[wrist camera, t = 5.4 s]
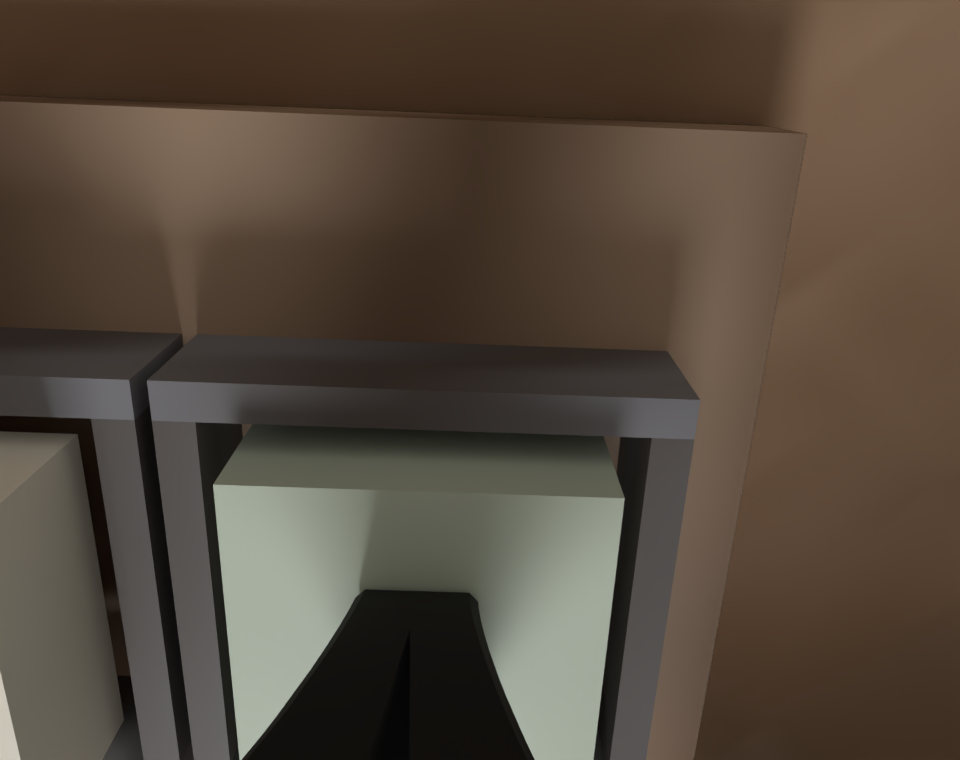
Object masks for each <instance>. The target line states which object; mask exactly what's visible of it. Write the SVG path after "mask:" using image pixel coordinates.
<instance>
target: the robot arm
mask: <svg viewBox="0 0 960 760" xmlns="http://www.w3.org/2000/svg"><path fill="white" fill-rule="evenodd" d="M242 760H535V759H534V757H533V755H532V753H531V751H530V749H529V747H528V745H527V743H526V740H525V738H524V736H523V734H522V731H521V729H520V727H519V724H518V722H517V720H516V718H515V715H514V713H513V711H512V708H511V706H510V704H509V701H508V699H507V697H506V695H505V692H504V689H503V687H502V684H501V682H500V679H499V677H498V674H497V671H496V668H495V665H494V662H493V660H492V657H491V654H490V651H489V648H488V644H487V641H486V638H485V634H484V631H483V627H482V622H481V618H480V613H479V605H478V601H477V600H476V599H475V598H474V597H473V596H472V595H471V594H470V593H465V592H433V591H401V590H369V589H365V590H364V591H363V592H361V593H360V594H359V595H358V596H356V597H355V599H354V601H353V603H352V605H351V607H350V609H349V610H348V612H347V614H346V615H345V617H344V619H343V620H342V622H341V624H340V626H339V627H338V629H337V630H336V632H335V634H334V635H333V637H332V638H331V640H330V641H329V643H328V644H327V646H326V647H325V649H324V650H323V652H322V653H321V655H320V656H319V658H318V659H317V661H316V662H315V664H314V665H313V667H312V668H311V670H310V671H309V673H308V674H307V675H306V677H305V678H304V679H303V681H302V682H301V683H300V685H299V686H298V688H297V689H296V690H295V692H294V693H293V694H292V696H291V697H290V698H289V700H288V701H287V703H286V704H285V705H284V707H283V708H282V709H281V711H280V712H279V714H278V715H277V716H276V718H275V719H274V720H273V721H272V723H271V724H270V725H269V727H268V728H267V729H266V731H265V732H264V733H263V734H262V735H261V737H260V738H259V739H258V740H257V742H256V743H255V744H254V745H253V746H252V748H251V749H250V750H249V751H248V752H247V754H246V755H245V756H244V757H243V758H242Z"/></svg>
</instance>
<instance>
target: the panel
mask: <svg viewBox="0 0 960 760" xmlns="http://www.w3.org/2000/svg"><path fill="white" fill-rule="evenodd" d="M806 137H807V134H805V133H800V132H794V131H789V130H784V129H778V128H773V127H767V126H749V125H724V124H699V123H674V122H649V121H625V120H600V119H575V118H550V117H525V116H500V115H476V114H451V113H426V112H401V111H376V110H351V109H327V108H302V107H277V106H252V105H227V104H202V103H178V102H153V101H128V100H103V99H78V98H53V97H29V96H4V95H0V431H3V432H32V433H61V434H78V440H79V446H80V452H81V458H82V464H83V470H84V476H85V483H86V489H87V495H88V501H89V507H90V513H91V519H92V526H93V532H94V538H95V544H96V550H97V556H98V562H99V568H100V575H101V581H102V587H103V593H104V599H105V605H106V611H107V618H108V624H109V630H110V636H111V642H112V648H113V654H114V661H115V667H116V673H117V679H118V685H119V691H120V697H121V704H122V710H123V716H124V721H123V723H122V725H121V726H120V728H119V730H118V732H117V734H116V735H115V737H114V739H113V741H112V743H111V745H110V746H109V748H108V750H107V752H106V754H105V755H104V757H103V759H102V760H240V759H239V749H238V739H237V728H236V718H235V708H234V697H233V687H232V676H231V666H230V656H229V645H228V635H227V624H226V614H225V604H224V593H223V583H222V573H221V562H220V552H219V541H218V531H217V521H216V510H215V500H214V490H213V484H214V482H215V481H216V479H217V478H218V476H219V475H220V473H221V472H222V470H223V469H224V467H225V465H226V464H227V462H228V461H229V459H230V458H231V456H232V455H233V453H234V452H235V450H236V448H237V447H238V445H239V444H240V442H241V441H242V439H243V438H244V436H245V435H246V433H247V432H248V430H249V428H250V427H251V425H252V424H260V425H289V426H318V427H347V428H376V429H405V430H434V431H463V432H492V433H521V434H550V435H579V436H604V439H605V442H606V445H607V448H608V451H609V454H610V457H611V460H612V463H613V465H614V468H615V471H616V474H617V477H618V480H619V483H620V486H621V489H622V492H623V495H624V498H625V500H624V509H623V517H622V526H621V534H620V542H619V551H618V559H617V567H616V576H615V584H614V592H613V601H612V609H611V617H610V626H609V634H608V642H607V651H606V659H605V667H604V676H603V684H602V692H601V701H600V709H599V718H598V726H597V734H596V743H595V751H594V759H593V760H694V756H695V750H696V745H697V739H698V734H699V728H700V723H701V717H702V712H703V706H704V701H705V695H706V690H707V684H708V679H709V673H710V668H711V662H712V657H713V651H714V645H715V640H716V634H717V629H718V623H719V618H720V612H721V607H722V601H723V596H724V590H725V585H726V579H727V574H728V568H729V563H730V557H731V552H732V546H733V541H734V535H735V530H736V524H737V518H738V513H739V507H740V502H741V496H742V491H743V485H744V480H745V474H746V469H747V463H748V458H749V452H750V447H751V441H752V436H753V430H754V425H755V419H756V414H757V408H758V402H759V397H760V391H761V386H762V380H763V375H764V369H765V364H766V358H767V353H768V347H769V342H770V336H771V331H772V325H773V320H774V314H775V309H776V303H777V298H778V292H779V287H780V281H781V275H782V270H783V264H784V259H785V253H786V248H787V242H788V237H789V231H790V226H791V220H792V215H793V209H794V204H795V198H796V193H797V187H798V182H799V176H800V171H801V165H802V160H803V154H804V148H805V143H806Z"/></svg>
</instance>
